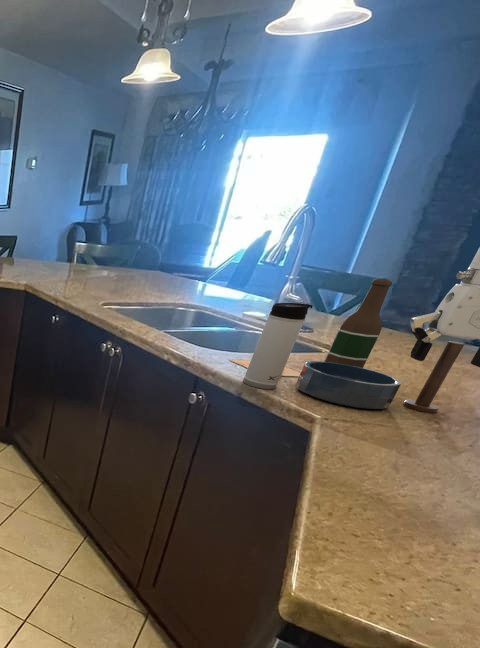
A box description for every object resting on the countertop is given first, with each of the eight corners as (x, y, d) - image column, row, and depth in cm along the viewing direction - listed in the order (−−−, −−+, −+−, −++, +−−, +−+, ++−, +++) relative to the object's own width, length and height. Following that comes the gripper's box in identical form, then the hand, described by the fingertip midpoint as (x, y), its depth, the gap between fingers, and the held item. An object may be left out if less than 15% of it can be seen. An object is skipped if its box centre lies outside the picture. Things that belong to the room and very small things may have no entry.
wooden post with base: (440, 411, 106) (479, 345, 100) (430, 414, 104) (469, 347, 98) (409, 402, 110) (444, 338, 104) (398, 405, 108) (434, 340, 102)
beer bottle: (366, 378, 124) (414, 283, 115) (328, 373, 127) (372, 280, 117) (350, 369, 131) (394, 278, 121) (314, 365, 133) (354, 275, 124)
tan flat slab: (263, 375, 123) (270, 359, 122) (228, 360, 135) (233, 345, 133) (310, 377, 124) (317, 361, 122) (271, 361, 135) (277, 346, 133)
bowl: (401, 405, 108) (415, 380, 105) (366, 415, 102) (379, 389, 100) (316, 381, 121) (326, 358, 118) (280, 388, 115) (290, 364, 113)
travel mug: (276, 392, 113) (313, 306, 105) (241, 384, 117) (274, 301, 109) (278, 385, 117) (313, 302, 109) (243, 378, 121) (275, 297, 113)
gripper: (447, 278, 95) (404, 361, 102) (572, 287, 90) (517, 374, 97) (422, 273, 102) (383, 351, 109) (537, 281, 96) (488, 363, 103)
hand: (446, 362), depth 103 cm, fingers open, 9 cm apart
